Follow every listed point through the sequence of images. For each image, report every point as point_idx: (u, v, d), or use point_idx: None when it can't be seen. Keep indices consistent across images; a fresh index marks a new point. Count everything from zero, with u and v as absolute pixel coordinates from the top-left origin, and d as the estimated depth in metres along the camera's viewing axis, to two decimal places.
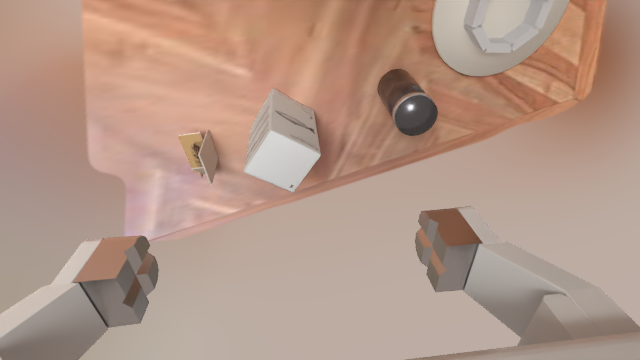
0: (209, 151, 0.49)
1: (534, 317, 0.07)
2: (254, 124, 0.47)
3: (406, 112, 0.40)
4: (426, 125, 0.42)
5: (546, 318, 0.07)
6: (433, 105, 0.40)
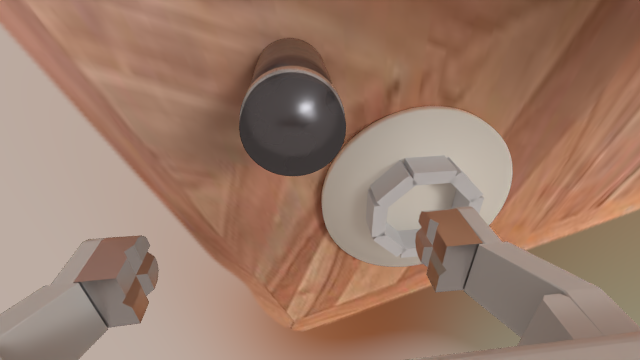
0: None
1: (534, 317, 0.07)
2: None
3: (307, 100, 0.15)
4: (274, 160, 0.17)
5: (546, 318, 0.07)
6: (327, 159, 0.17)
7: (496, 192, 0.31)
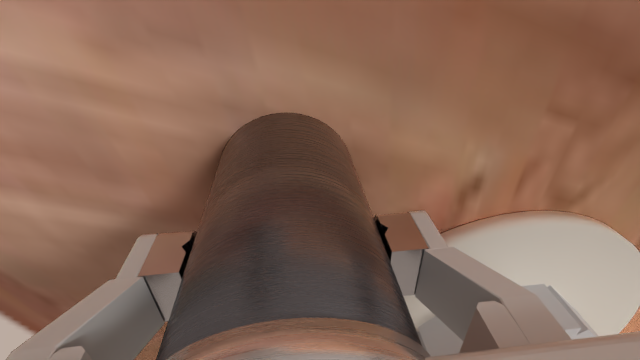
0: None
1: (470, 324, 0.07)
2: None
3: None
4: None
5: (479, 326, 0.06)
6: None
7: (610, 322, 0.20)
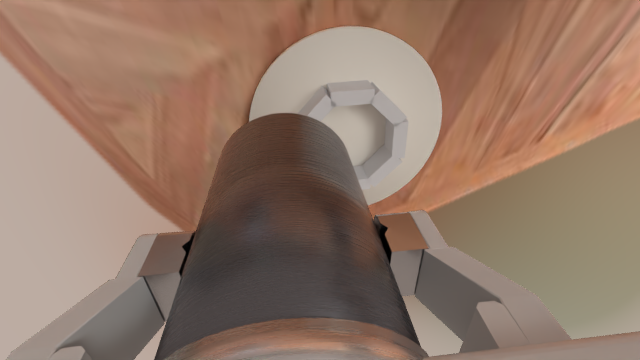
0: None
1: (470, 324, 0.07)
2: None
3: None
4: None
5: (479, 326, 0.06)
6: None
7: (428, 123, 0.30)
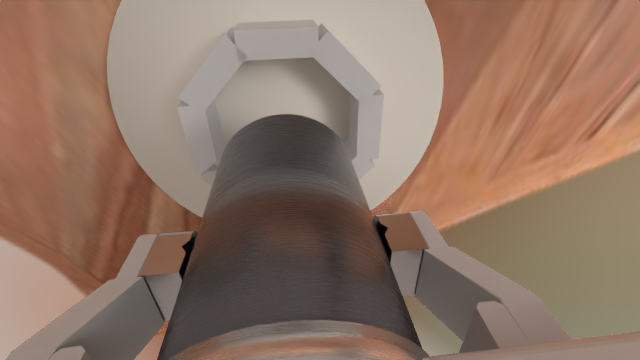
0: None
1: (470, 324, 0.07)
2: None
3: None
4: None
5: (479, 326, 0.06)
6: None
7: (420, 102, 0.18)
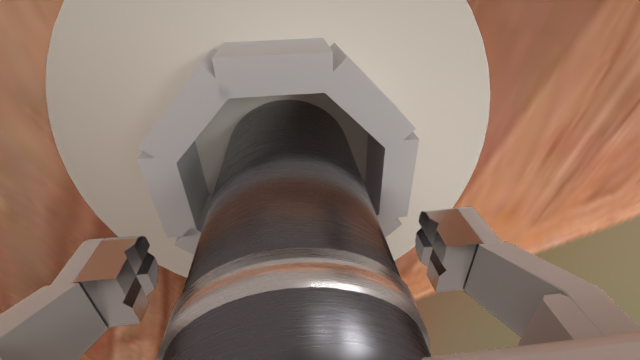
0: None
1: (534, 317, 0.07)
2: None
3: None
4: None
5: (546, 318, 0.07)
6: None
7: (457, 139, 0.14)
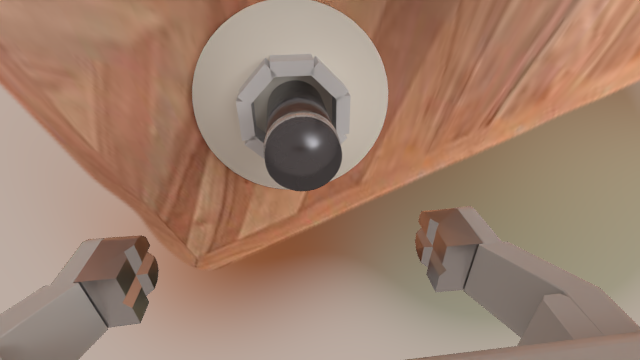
0: None
1: (534, 317, 0.07)
2: None
3: (314, 136, 0.21)
4: (288, 179, 0.22)
5: (546, 318, 0.07)
6: (328, 178, 0.23)
7: (374, 101, 0.31)
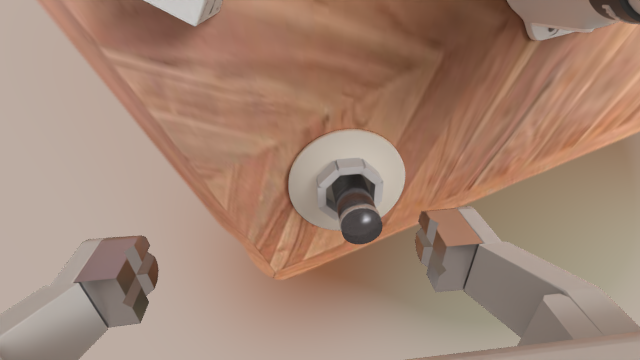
0: None
1: (534, 317, 0.07)
2: None
3: (368, 219, 0.40)
4: (353, 238, 0.42)
5: (546, 318, 0.07)
6: (374, 237, 0.42)
7: (396, 180, 0.50)
